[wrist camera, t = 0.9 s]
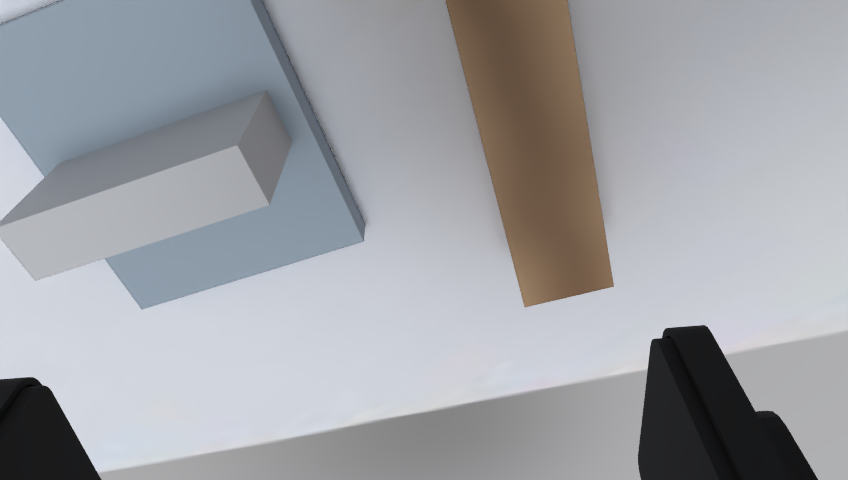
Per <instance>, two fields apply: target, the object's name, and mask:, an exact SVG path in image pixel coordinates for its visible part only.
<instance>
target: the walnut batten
mask: <svg viewBox="0 0 848 480" xmlns="http://www.w3.org/2000/svg"><path fill="white" fill-rule="evenodd" d="M446 4H447V8H448V12H449V16H450V20H451V24H452V28H453V31H454V35H455V39H456V43H457V47H458V51H459V55H460V59H461V62H462V66H463V70H464V74H465V78H466V82H467V86H468V90H469V93H470V97H471V101H472V105H473V109H474V113H475V117H476V121H477V124H478V128H479V132H480V136H481V140H482V144H483V148H484V152H485V155H486V159H487V163H488V167H489V171H490V175H491V179H492V183H493V186H494V190H495V194H496V198H497V202H498V206H499V210H500V214H501V217H502V221H503V225H504V229H505V233H506V237H507V241H508V245H509V248H510V252H511V256H512V260H513V264H514V268H515V272H516V276H517V279H518V283H519V287H520V291H521V295H522V299H523V303H524V307H528V306H532V305H537V304H541V303H545V302H550V301H554V300H558V299H562V298H567V297H571V296H575V295H580V294H584V293H588V292H592V291H597V290H601V289H605V288H610V287H614V284H613V278H612V272H611V266H610V260H609V254H608V248H607V241H606V235H605V229H604V223H603V217H602V211H601V204H600V198H599V192H598V186H597V180H596V174H595V168H594V161H593V155H592V149H591V143H590V137H589V131H588V124H587V118H586V112H585V106H584V100H583V94H582V88H581V81H580V75H579V69H578V63H577V57H576V51H575V44H574V38H573V32H572V26H571V20H570V14H569V8H568V1H567V0H446Z"/></svg>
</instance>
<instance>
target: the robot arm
mask: <svg viewBox="0 0 848 480" xmlns="http://www.w3.org/2000/svg"><path fill="white" fill-rule="evenodd" d="M638 465H639V472H640V477H641V480H818V479H817V477H816V475H815V474H814V472H813V470H812V469H811V467H810V465H809V464H808V462H807V460H806V459H805V457H804V455H803V454H802V452H801V450H800V449H799V447H798V445H797V443H796V442H795V440H794V438H793V437H792V435H791V433H790V432H789V430H788V428H787V427H786V425H785V424H784V423H783V421H782V420H781V418H780V417H779V416H778V415H777V414H775V413H774V412H772V411H758V412H755V410H754V408H753V407H752V405H751V403H750V401H749V399H748V398H747V396H746V394H745V392H744V390H743V389H742V387H741V385H740V383H739V381H738V380H737V378H736V376H735V374H734V373H733V371H732V369H731V367H730V365H729V363H728V362H727V360H726V358H725V356H724V354H723V353H722V351H721V349H720V347H719V345H718V344H717V342H716V340H715V338H714V336H713V335H712V333H711V331H710V330H709V329H708V327H706V326H705V325H702V326H689V327H676V328H666V329H665V330H664V332H663V336H662V338H660V339H653V340H652V342H651V346H650V355H649V364H648V373H647V382H646V391H645V400H644V408H643V417H642V427H641V435H640V444H639V453H638ZM0 480H101V479H100V477H99V475H98V473H97V471H96V470H95V468H94V466H93V464H92V463H91V461H90V459H89V457H88V455H87V454H86V452H85V450H84V448H83V446H82V445H81V443H80V441H79V439H78V438H77V436H76V434H75V432H74V430H73V429H72V427H71V425H70V423H69V421H68V420H67V418H66V416H65V414H64V413H63V411H62V409H61V407H60V405H59V404H58V402H57V400H56V398H55V397H54V395H53V393H52V391H51V390H50V389H49V388H48V387H47V386H42V384H41V383H40V382H39V381H38V380H37V379H35V378H33V377H27V378H14V379H1V380H0Z"/></svg>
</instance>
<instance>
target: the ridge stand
mask: <svg viewBox="0 0 848 480" xmlns="http://www.w3.org/2000/svg"><path fill="white" fill-rule="evenodd" d="M0 117H1V118H2V120H3V121H4V122H5V124H6V125H7V127H8V128H9V129H10V131H11V132H12V133H13V135H14V136H15V137H16V139H17V140H18V142H19V143H20V144H21V146H22V147H23V148H24V150H25V151H26V152H27V154H28V155H29V157H30V158H31V159H32V161H33V162H34V163H35V165H36V166H37V167H38V169H39V170H40V172H41V173H42V174H43V176H44V177H45V178H44V179H43V180H42V181H41V182H40V183H39V184H38V185H37V186H36V187H35V188H34V189H33V190H32V191H31V192H30V193H29V194H28V195H27V196H26V197H25V198H24V199H23V200H22V201H21V202H20V203H18V204H17V205H16V206H15V207H14V208H13V209H12V210H11V211H10V212H9V213H8V214H7V215H6V216H5V217H4V218H3V219H2V220H1V221H0V239H1V240H2V241H3V242H4V244H5V245H6V246H7V247H8V249H9V250H10V251H11V252H12V253H13V255H14V256H15V257H16V258H17V260H18V261H19V262H20V263H21V264H22V266H23V267H24V268H25V269H26V270H27V272H28V273H29V274H30V275H31V277H32V278H33V279H34V280H35V281H37V280H40V279H43V278H46V277H49V276H52V275H55V274H58V273H61V272H64V271H68V270H71V269H74V268H77V267H80V266H83V265H86V264H89V263H92V262H95V261H98V260H101V259H105V260H106V261H107V263H108V264H109V266H110V267H111V268H112V270H113V271H114V272H115V274H116V275H117V276H118V278H119V279H120V280H121V282H122V283H123V285H124V286H125V287H126V289H127V290H128V291H129V293H130V294H131V295H132V297H133V298H134V300H135V301H136V302H137V304H138V305H139V306H140V308H141V309H145V308H148V307H151V306H155V305H158V304H161V303H164V302H168V301H171V300H174V299H177V298H181V297H184V296H187V295H190V294H194V293H197V292H200V291H203V290H207V289H210V288H213V287H217V286H220V285H223V284H226V283H230V282H233V281H236V280H239V279H243V278H246V277H249V276H252V275H256V274H259V273H262V272H265V271H269V270H272V269H275V268H279V267H282V266H285V265H288V264H292V263H295V262H298V261H301V260H305V259H308V258H311V257H314V256H318V255H321V254H324V253H327V252H331V251H334V250H337V249H340V248H344V247H347V246H350V245H354V244H357V243H360V242H363V241H364V233H365V223H364V221H363V219H362V217H361V215H360V212H359V210H358V208H357V206H356V204H355V202H354V199H353V197H352V195H351V193H350V191H349V189H348V186H347V184H346V182H345V180H344V178H343V176H342V173H341V171H340V169H339V167H338V165H337V163H336V160H335V158H334V156H333V154H332V152H331V150H330V147H329V145H328V143H327V141H326V139H325V137H324V134H323V132H322V130H321V128H320V126H319V124H318V121H317V119H316V117H315V115H314V113H313V111H312V108H311V106H310V104H309V102H308V100H307V98H306V95H305V93H304V91H303V89H302V87H301V85H300V83H299V80H298V78H297V76H296V74H295V72H294V70H293V67H292V65H291V63H290V61H289V59H288V57H287V54H286V52H285V50H284V48H283V46H282V44H281V41H280V39H279V37H278V35H277V33H276V31H275V28H274V26H273V24H272V22H271V20H270V18H269V15H268V13H267V11H266V9H265V7H264V5H263V2H262V0H60V1H58V2H55V3H53V4H50V5H48V6H45V7H43V8H40V9H38V10H35V11H33V12H30V13H28V14H25V15H23V16H20V17H18V18H15V19H13V20H10V21H8V22H5V23H3V24H0Z"/></svg>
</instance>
